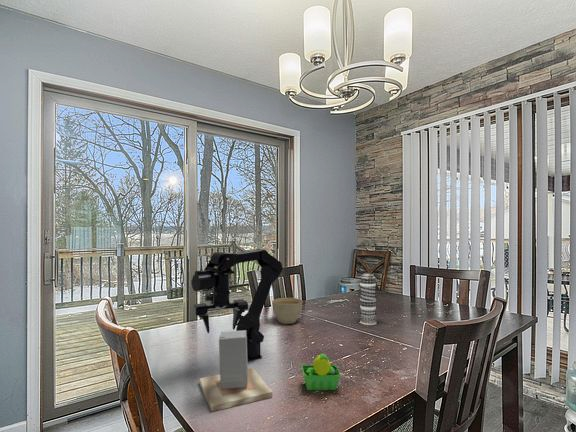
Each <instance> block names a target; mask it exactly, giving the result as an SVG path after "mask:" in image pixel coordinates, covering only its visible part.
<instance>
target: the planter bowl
mask: <svg viewBox="0 0 576 432" xmlns="http://www.w3.org/2000/svg"><path fill="white" fill-rule="evenodd" d="M271 303H272V305H271V306H272V310H273V313H274V316H275V317H276V319H277V321H278V323H280V324H284V325H288V324H290V325H291V324H295V323H296V322H297V320H298V318H299V317H300V314H301V313H302V309H303V300H302V299H301V298H295V297H281V298H276V299H272V301H271Z"/></svg>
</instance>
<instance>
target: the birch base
mask: <svg viewBox="0 0 576 432" xmlns="http://www.w3.org/2000/svg"><path fill="white" fill-rule="evenodd" d="M199 385H200V388H201V390H202V392H203V395H204V398H205V399H206V402H207V405H208V407H209V409H210V411H211V412H215V411H219V410H220V411H221V410H223V409H224V410H225V409H228V408H229V409H230V408H232V407H236V406H241V405H245V404H249V403H252V402H257V401H261V400H262V401H263V400H265V399H266V400H267V399H269V398H272V397H273V390H272V389H271V388H270V387H269V386H268V385H267V383H266V382H265V381H264V380H263V379H262V377H261V376H260V375H259V374H258V373H257V371H256V370H255V369H254V368H253V367H251V368H248V384H247V387H246V388H234V389H221V383H220V374H216V375H210V376H205V377H200V378H199Z"/></svg>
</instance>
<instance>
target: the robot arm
mask: <svg viewBox="0 0 576 432" xmlns="http://www.w3.org/2000/svg"><path fill="white" fill-rule="evenodd" d="M254 261H257V265H259V266H260V271H259V272H260V280H259V283H258V286H257V288H256V290H255V293H254V295H253V298H252V300H251V303H250V306H249V302H248V301H246V300H245V299H243V298H241V299H234V300H233V302H230V293H231V291H230V275H233V274H235V271H234V270H233V269H232V267H235V266H236V265H237V264H241V263H247V262H254ZM283 269H284V267H283V264H282V262H281V261H280V260H278V259H277V258H276V257H275V256H273V255H272V254H271V253H269V251H267V250H266V249H261V248H256V249H254V250H253V249H251V250H245V251H239V252H224V251H223V252H222V251H215V252H213V253H212V255H210V260H209V261H208V262H207V264H206V266H205V267H204V270H195V271H194V275H193V276H192V279H191V283H190V284H191V288H192V290H193V291H194V292H202V291H206V290H207V291H206V292H204V301H205V302H209V305H207V304H206V303H194V305H193V306H192V307H193V309H192V312H193V314H194V315H195V316H198V317H199V318H201V319H202V321H203V323H204V326H205V330H206V333H207V334H210V320H209V319H210V317H209V314H208V312H211V311H219V310H220V311H221V310H229V309H232V313H233V315H232V331H242V330H246V334H247V360H248V361H252V360H253V361H254V360H258V359H262V358H263V356H262V355H261V343H263V342H264V338H265V335H264V334H262V332H261V331H260V328H261V322H260V321H261V320H260V317H261V314H262V312H263V310H264V306H265V303H266V301H267V300H268V299H267V298H268V296H269V293H270V290H271V288H272V287H273V286H272V285H273V283H274V282H275V281H277V280H278V278H279V277H280V275H281V273H282V271H283ZM208 290H212V293H211V291H208ZM247 310H248V311H247ZM245 311H247V313H246V314H244V313H245ZM242 314H244V315H242Z"/></svg>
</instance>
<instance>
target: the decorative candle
mask: <svg viewBox="0 0 576 432" xmlns="http://www.w3.org/2000/svg"><path fill="white" fill-rule="evenodd" d="M359 278H360V282H359V284H358V287H359V288H358V290H359V291H358V292H359V294H360V295H359V296H358V297H359V301H360V305H359V307H360V308H359V314H360V315H359V324H362V325H366V326H374V325H377V324H378V323H377V319H378V318H377V306H376V301H377V297H378V296H377V295H378V293H377V291H378V289H377V287H378V286H377V283H376V276H375V275H374V274H372V273H362V274H361V276H359Z"/></svg>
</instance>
